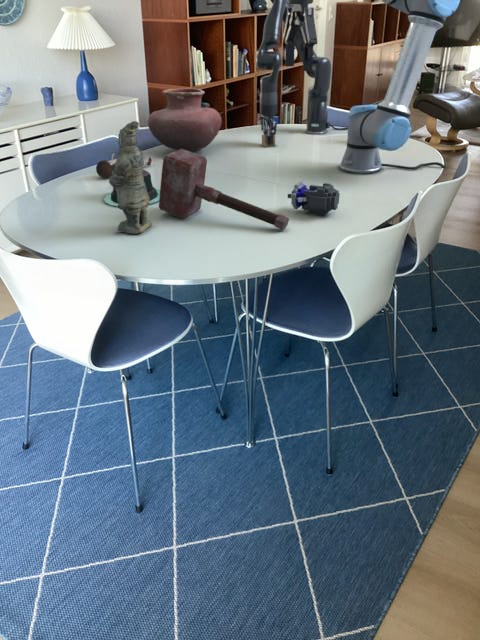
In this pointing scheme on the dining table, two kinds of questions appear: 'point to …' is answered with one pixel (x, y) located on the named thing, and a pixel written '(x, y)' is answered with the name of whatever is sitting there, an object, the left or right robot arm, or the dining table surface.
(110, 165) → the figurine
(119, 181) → the statue
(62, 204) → the dining table surface
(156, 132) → the clay pot
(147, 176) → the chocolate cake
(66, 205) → the dining table surface
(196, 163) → the sledgehammer
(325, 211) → the toy
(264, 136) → the block
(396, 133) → the right robot arm
